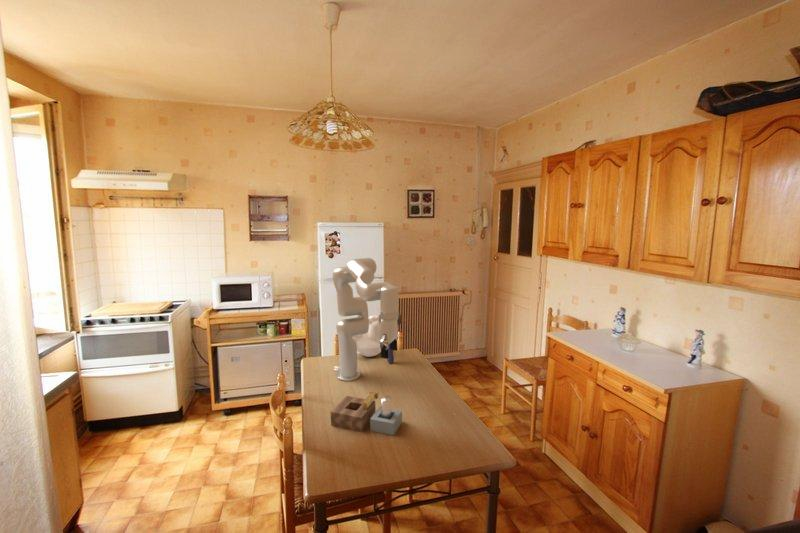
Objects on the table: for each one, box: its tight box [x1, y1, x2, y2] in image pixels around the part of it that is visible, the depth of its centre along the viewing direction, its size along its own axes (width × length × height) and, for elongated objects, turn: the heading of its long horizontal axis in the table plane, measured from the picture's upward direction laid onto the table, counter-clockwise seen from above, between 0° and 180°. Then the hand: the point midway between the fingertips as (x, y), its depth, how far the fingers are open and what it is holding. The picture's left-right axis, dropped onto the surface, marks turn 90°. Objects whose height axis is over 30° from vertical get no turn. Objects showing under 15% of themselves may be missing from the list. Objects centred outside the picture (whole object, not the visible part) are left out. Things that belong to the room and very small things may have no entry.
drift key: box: [362, 390, 380, 409], centre depth 157 cm, size 4×10×2 cm, turn 160°
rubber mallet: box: [378, 312, 402, 364], centre depth 212 cm, size 12×8×30 cm, turn 101°
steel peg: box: [380, 395, 392, 420], centre depth 149 cm, size 4×4×12 cm
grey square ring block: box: [369, 406, 403, 436], centre depth 150 cm, size 10×10×5 cm
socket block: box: [330, 395, 377, 432], centre depth 155 cm, size 14×14×6 cm
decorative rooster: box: [352, 314, 381, 358], centre depth 225 cm, size 25×16×25 cm, turn 109°
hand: (389, 353), depth 156 cm, fingers open, 9 cm apart
